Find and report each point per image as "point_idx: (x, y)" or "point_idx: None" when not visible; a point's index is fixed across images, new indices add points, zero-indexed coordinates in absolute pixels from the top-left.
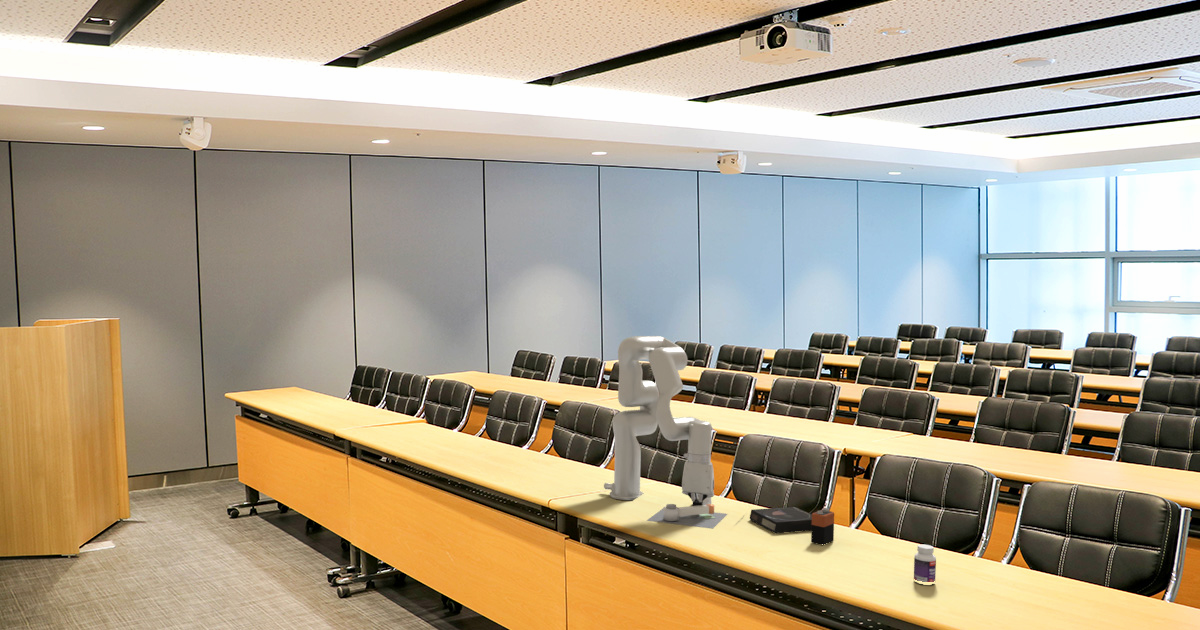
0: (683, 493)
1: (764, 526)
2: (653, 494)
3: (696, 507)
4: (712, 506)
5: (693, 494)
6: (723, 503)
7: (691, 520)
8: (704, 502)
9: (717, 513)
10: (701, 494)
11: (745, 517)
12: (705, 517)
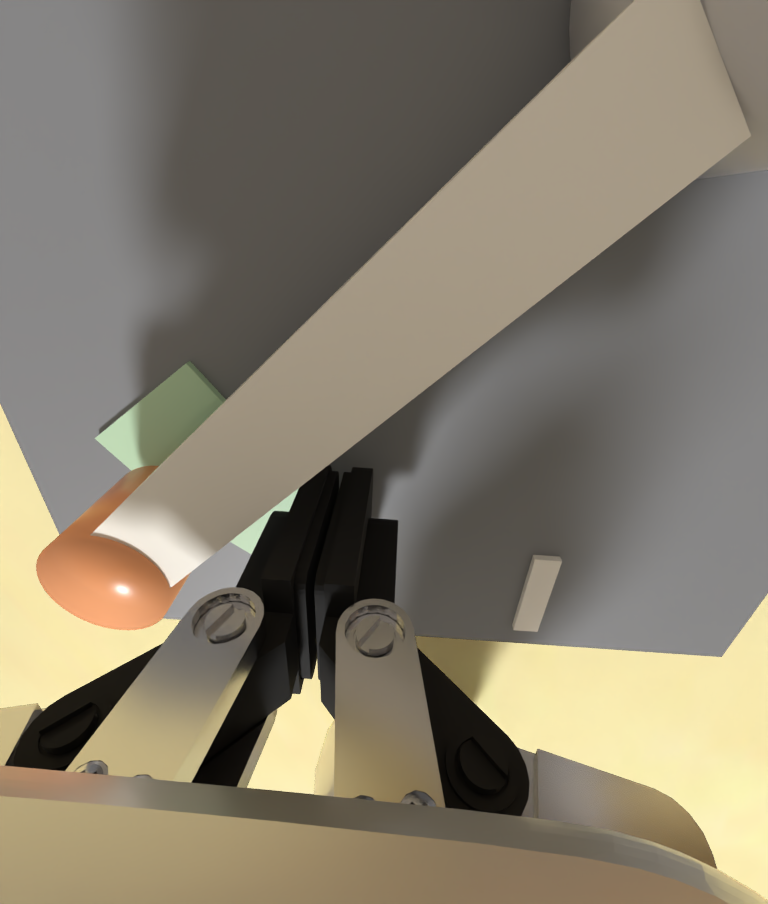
0: (646, 792)
1: None
2: (730, 859)
3: (252, 380)
4: (49, 546)
5: (361, 759)
6: None
7: (334, 158)
8: None
9: (181, 600)
10: (116, 770)
11: (28, 635)
12: (201, 399)
